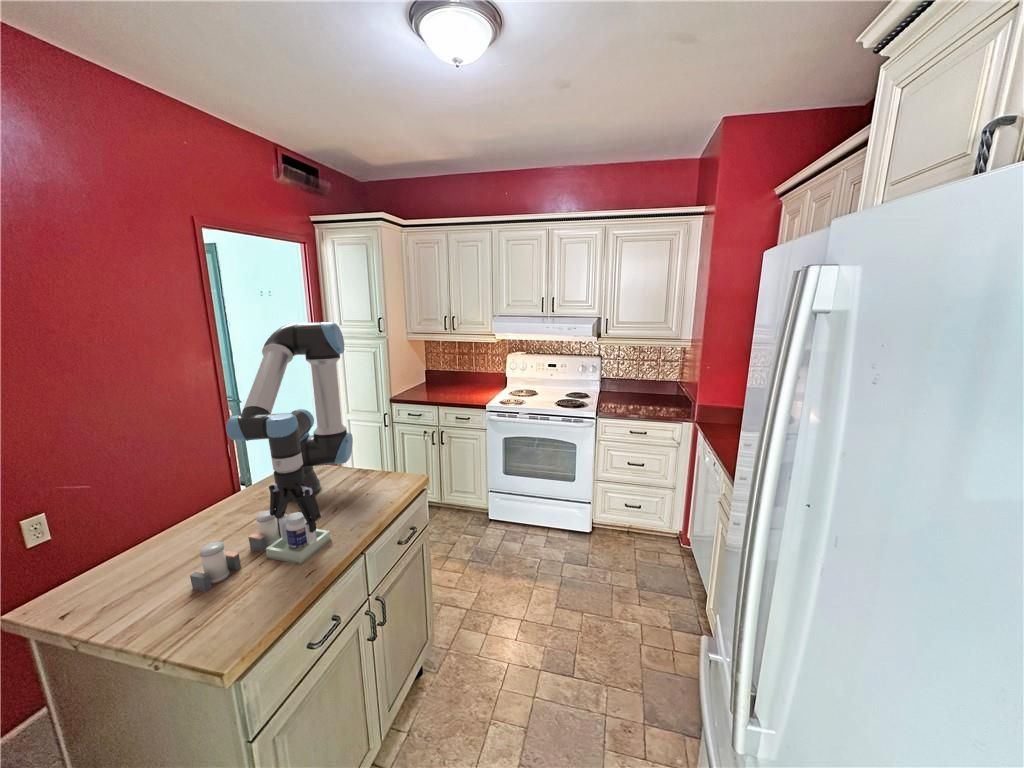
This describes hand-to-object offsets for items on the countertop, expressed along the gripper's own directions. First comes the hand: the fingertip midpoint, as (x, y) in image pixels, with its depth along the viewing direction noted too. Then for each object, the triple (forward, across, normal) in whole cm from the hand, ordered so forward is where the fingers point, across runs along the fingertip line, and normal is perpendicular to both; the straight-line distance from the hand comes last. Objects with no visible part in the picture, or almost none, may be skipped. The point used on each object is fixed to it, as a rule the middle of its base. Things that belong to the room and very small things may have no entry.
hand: (298, 538), depth 118 cm
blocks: (+3, -12, -8) cm, 15 cm away
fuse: (+3, -12, +1) cm, 12 cm away
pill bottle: (+3, 0, 0) cm, 3 cm away
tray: (+3, 0, 0) cm, 3 cm away
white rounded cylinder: (+3, -12, -16) cm, 20 cm away
